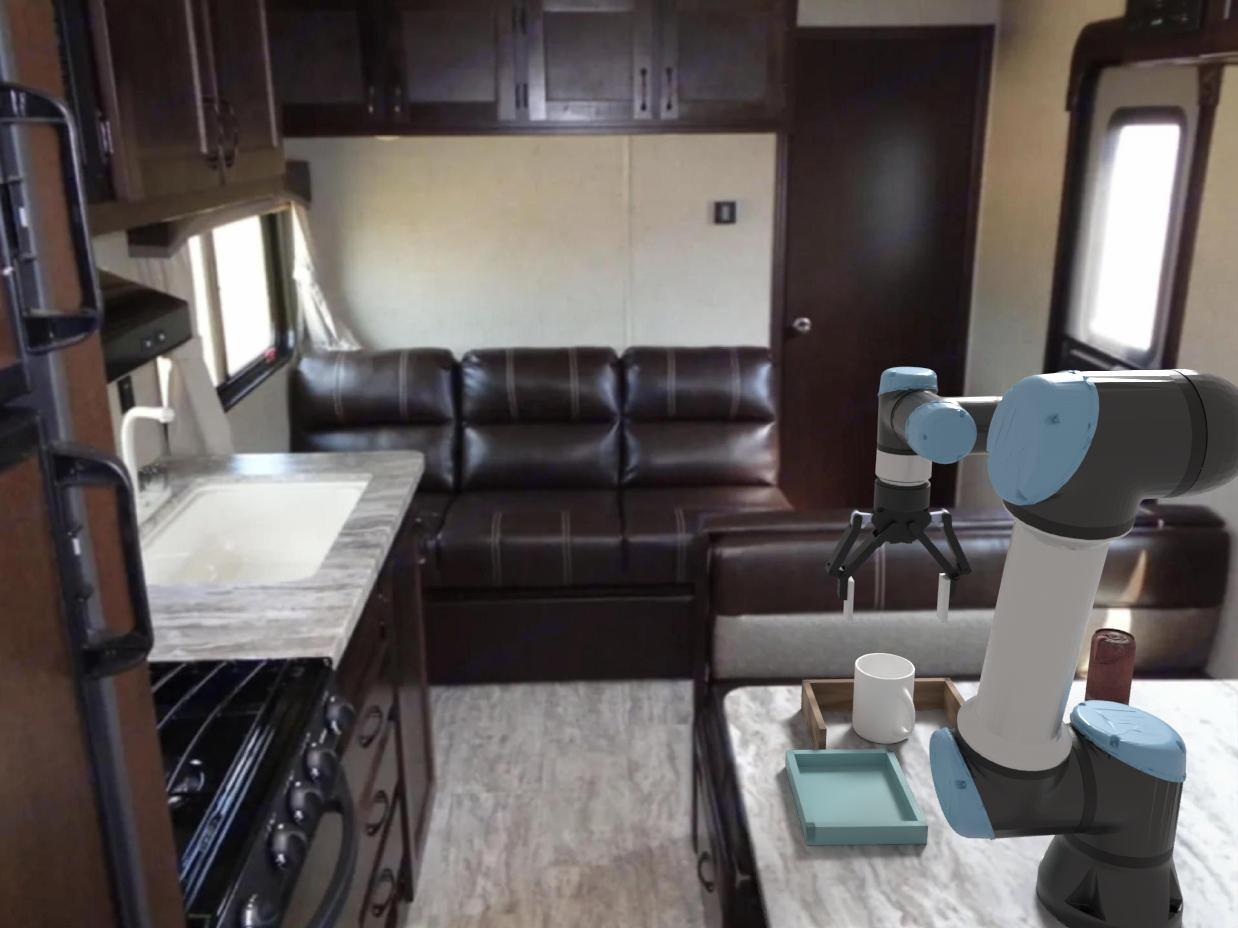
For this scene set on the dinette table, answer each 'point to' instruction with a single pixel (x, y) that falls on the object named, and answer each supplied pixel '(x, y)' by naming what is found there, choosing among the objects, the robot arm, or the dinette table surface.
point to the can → (1110, 666)
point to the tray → (854, 798)
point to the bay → (840, 698)
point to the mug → (883, 698)
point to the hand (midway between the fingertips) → (894, 619)
